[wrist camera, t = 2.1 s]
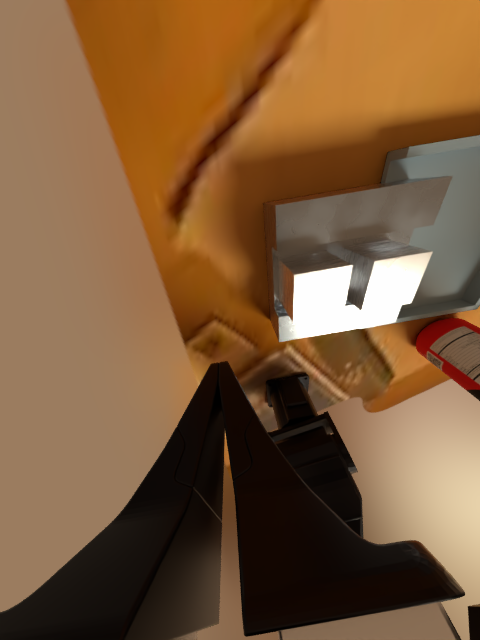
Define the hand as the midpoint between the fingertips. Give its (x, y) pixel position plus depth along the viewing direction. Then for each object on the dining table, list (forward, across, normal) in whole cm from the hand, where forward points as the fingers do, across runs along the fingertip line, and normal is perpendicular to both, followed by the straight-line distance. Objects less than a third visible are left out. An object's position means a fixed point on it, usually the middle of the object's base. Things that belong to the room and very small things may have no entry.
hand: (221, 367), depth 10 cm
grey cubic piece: (+9, -8, 0) cm, 12 cm away
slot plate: (+12, -11, 0) cm, 16 cm away
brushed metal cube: (+9, -13, 0) cm, 16 cm away
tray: (+12, -22, 0) cm, 25 cm away
